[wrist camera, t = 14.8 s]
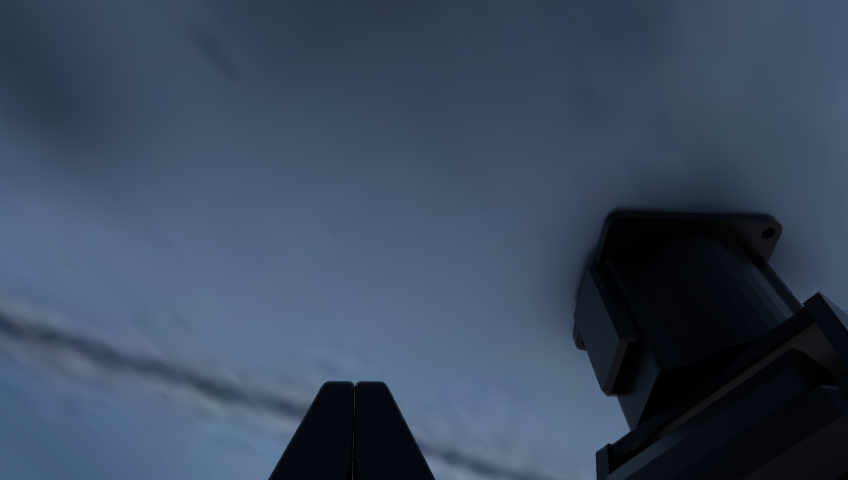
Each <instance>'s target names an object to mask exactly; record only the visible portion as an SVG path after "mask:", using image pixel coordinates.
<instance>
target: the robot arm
mask: <svg viewBox="0 0 848 480" xmlns="http://www.w3.org/2000/svg"><path fill="white" fill-rule="evenodd" d="M620 223H625V225H624V226H623V227H621V228H617V229H616V226H617V225H619V224H620ZM766 228H768V230H766V231H765V232H763V230H765V229H766ZM781 232H782V226H781V224H780V223H779V222H778V221H777V220H776V219H775V218H774V217H772V216H767V215H735V214H703V213H671V212H640V211H618V212H615V213H613V214H611V215H610V216H609V217H608V218H607V220H606V222H605V225H604V228H603V232H602V235H601V238H600V242H599V245H598V249H597V252H596V256H595V259H594V262H592V263H591V264H590V265H589V266H588V267H587V269H586V273H585V276H584V280H583V284H582V287H581V291H580V294H579V298H578V301H577V305H576V308H575V312H574V318H575V321H576V326H575V329H574V333H573V339H574V342H575V345H576V347H577V348H578V349H580V350H587V353H588V356H589V358H590V361H591V364H592V366H593V369H594V372H595V374H596V377H597V380H598V382H599V385H600V388H601V390H602V391H603V392H604V393H605V394H606V395H607V396H617V398H618V401H619V403H620V406H621V408H622V411H623V413H624V416H625V418H626V421H627V423H628V426H629V428H630V432H629V433H627V434H626V435H625V436H623V437H622V438H620V439H619V440H618V441H616V442H615V443H613V444H607V445H606V446H604V447H603V448H601V449H600V450H599V451H597V452H596V472H597V480H848V315H847V314H846V313H845V312H844V311H842V310H841V309H840V308H839V307H837V306H836V305H835V304H834V303H833V302H831V301H830V300H829V299H828V298H826V297H825V296H824V295H823V294H822V293H820V292H818V293H816V294H815V295H814V296H812V297H811V298H810V299H808V300H807V301H805V302H804V303H803V305H804V307H803V306H802V305H801V304H800V302H799V301H798V300H797V299H796V298H795V296H794V295H793V294H792V293H791V291H790V290H789V289H788V288H787V286H786V285H785V284H784V283H783V282H782V280H781V279H780V278H779V277H778V275H777V274H776V273H775V272H774V271H773V269H772V268H771V267H770V266H769V264H768V263H767V262H768V260H769V258H770V256H771V254H772V252H773V250H774V248H775V245H776V243H777V241H778V239H779V237H780V235H781ZM354 394H355V408H354ZM353 435H354V445H353ZM352 474H353V480H435V478H434V476H433V474H432V472H431V470H430V468H429V466H428V464H427V462H426V460H425V458H424V456H423V454H422V452H421V450H420V449H419V447H418V445H417V443H416V441H415V439H414V437H413V435H412V433H411V431H410V429H409V427H408V425H407V423H406V421H405V419H404V417H403V415H402V413H401V411H400V409H399V408H398V406H397V404H396V402H395V400H394V398H393V396H392V394H391V392H390V390H389V388H388V386H387V385H386V384H385V383H384V382H381V381H360V382H358V383H357V384H356V385H355V386H354V384H353V383H352V382H350V381H328V382H325V383H324V384H323V385H322V387H321V388H320V390H319V392H318V394H317V395H316V397H315V399H314V401H313V402H312V404H311V406H310V408H309V409H308V411H307V413H306V415H305V416H304V418H303V420H302V422H301V423H300V425H299V427H298V428H297V430H296V432H295V434H294V435H293V437H292V439H291V441H290V442H289V444H288V446H287V448H286V449H285V451H284V453H283V455H282V456H281V458H280V460H279V462H278V463H277V465H276V467H275V469H274V470H273V472H272V474H271V476H270V477H269V479H268V480H352Z"/></svg>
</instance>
